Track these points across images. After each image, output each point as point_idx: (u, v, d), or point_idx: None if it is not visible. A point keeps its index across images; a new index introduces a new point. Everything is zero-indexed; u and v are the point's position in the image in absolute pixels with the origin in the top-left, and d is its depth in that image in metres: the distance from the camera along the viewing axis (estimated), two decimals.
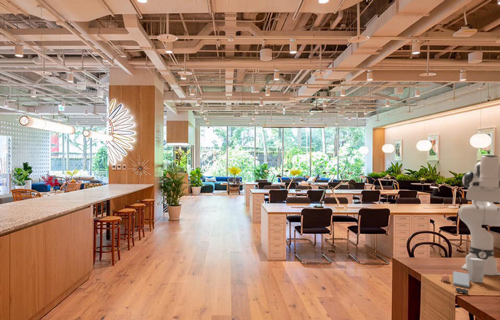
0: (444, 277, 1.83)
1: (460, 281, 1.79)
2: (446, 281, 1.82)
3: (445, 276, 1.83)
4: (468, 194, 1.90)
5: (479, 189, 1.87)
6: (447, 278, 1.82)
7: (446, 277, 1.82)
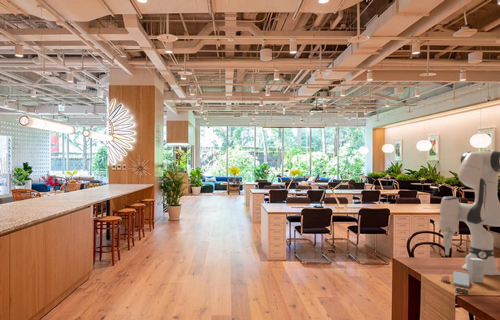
0: (444, 277, 1.83)
1: (460, 281, 1.79)
2: (446, 281, 1.82)
3: (445, 276, 1.83)
4: (443, 235, 1.93)
5: None
6: (447, 278, 1.82)
7: (446, 277, 1.82)
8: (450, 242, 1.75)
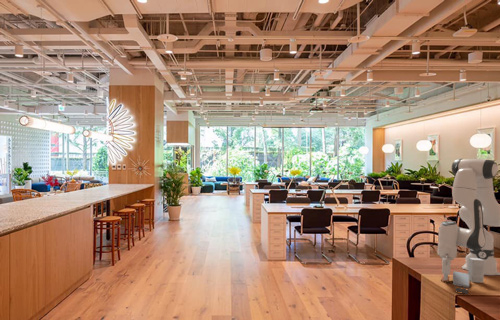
0: None
1: (460, 281, 1.79)
2: (446, 281, 1.82)
3: None
4: (442, 259, 1.93)
5: None
6: None
7: None
8: (448, 269, 1.75)
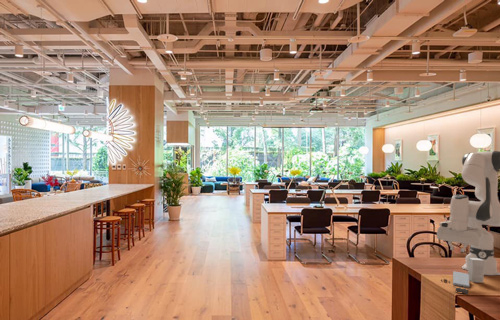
0: (460, 250, 1.85)
1: (460, 281, 1.79)
2: (446, 281, 1.82)
3: (459, 248, 1.86)
4: (438, 234, 1.91)
5: (448, 230, 1.88)
6: None
7: (460, 249, 1.86)
8: (480, 240, 1.80)
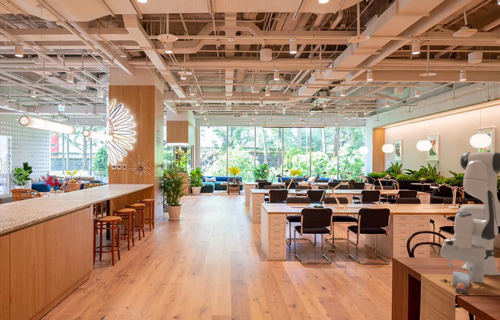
0: None
1: (460, 281, 1.79)
2: (446, 281, 1.82)
3: None
4: (442, 252, 1.88)
5: (453, 248, 1.86)
6: None
7: None
8: None
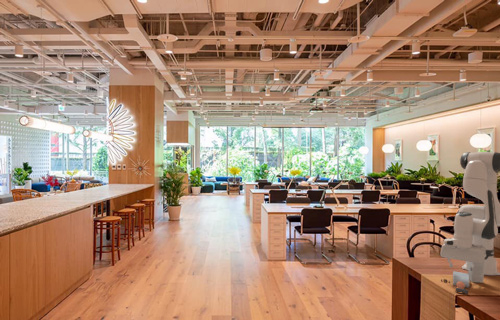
0: None
1: None
2: (446, 281, 1.82)
3: None
4: (442, 252, 1.88)
5: (453, 248, 1.86)
6: (463, 286, 1.72)
7: (463, 287, 1.72)
8: None
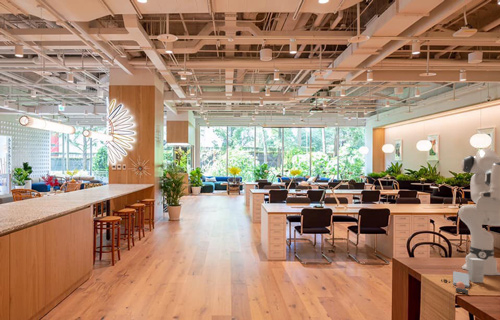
0: None
1: (460, 281, 1.79)
2: (446, 281, 1.82)
3: None
4: (478, 205, 1.78)
5: (490, 200, 1.75)
6: (463, 287, 1.72)
7: (463, 288, 1.72)
8: None
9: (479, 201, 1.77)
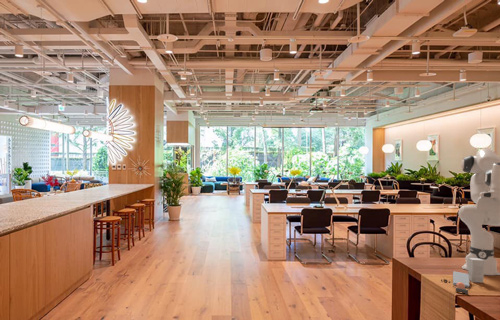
0: None
1: (460, 281, 1.79)
2: (446, 281, 1.82)
3: None
4: (478, 205, 1.78)
5: (490, 200, 1.75)
6: (463, 288, 1.71)
7: None
8: None
9: (479, 201, 1.77)
